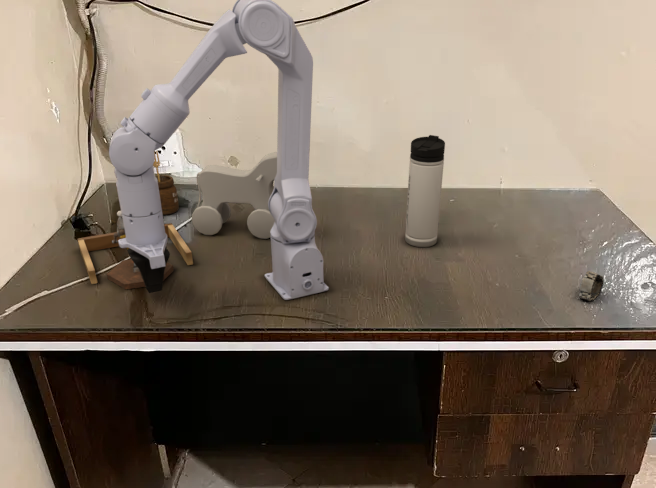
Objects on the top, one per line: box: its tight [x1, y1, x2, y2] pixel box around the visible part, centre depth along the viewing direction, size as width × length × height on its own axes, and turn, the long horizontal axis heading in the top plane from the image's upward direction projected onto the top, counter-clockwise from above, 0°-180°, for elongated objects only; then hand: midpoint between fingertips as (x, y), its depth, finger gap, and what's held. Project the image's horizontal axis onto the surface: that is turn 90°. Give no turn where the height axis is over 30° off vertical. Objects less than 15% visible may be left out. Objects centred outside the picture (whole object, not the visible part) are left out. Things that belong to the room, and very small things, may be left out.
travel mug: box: [404, 134, 446, 248], centre depth 117 cm, size 6×7×20 cm
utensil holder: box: [153, 150, 180, 216], centre depth 129 cm, size 6×6×12 cm
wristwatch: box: [578, 270, 604, 302], centre depth 103 cm, size 3×5×5 cm
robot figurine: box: [106, 210, 175, 290], centre depth 104 cm, size 11×9×12 cm
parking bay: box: [76, 222, 194, 285], centre depth 112 cm, size 14×17×2 cm
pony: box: [191, 151, 277, 240], centre depth 120 cm, size 20×10×17 cm, turn 84°
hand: (154, 290), depth 99 cm, fingers closed
